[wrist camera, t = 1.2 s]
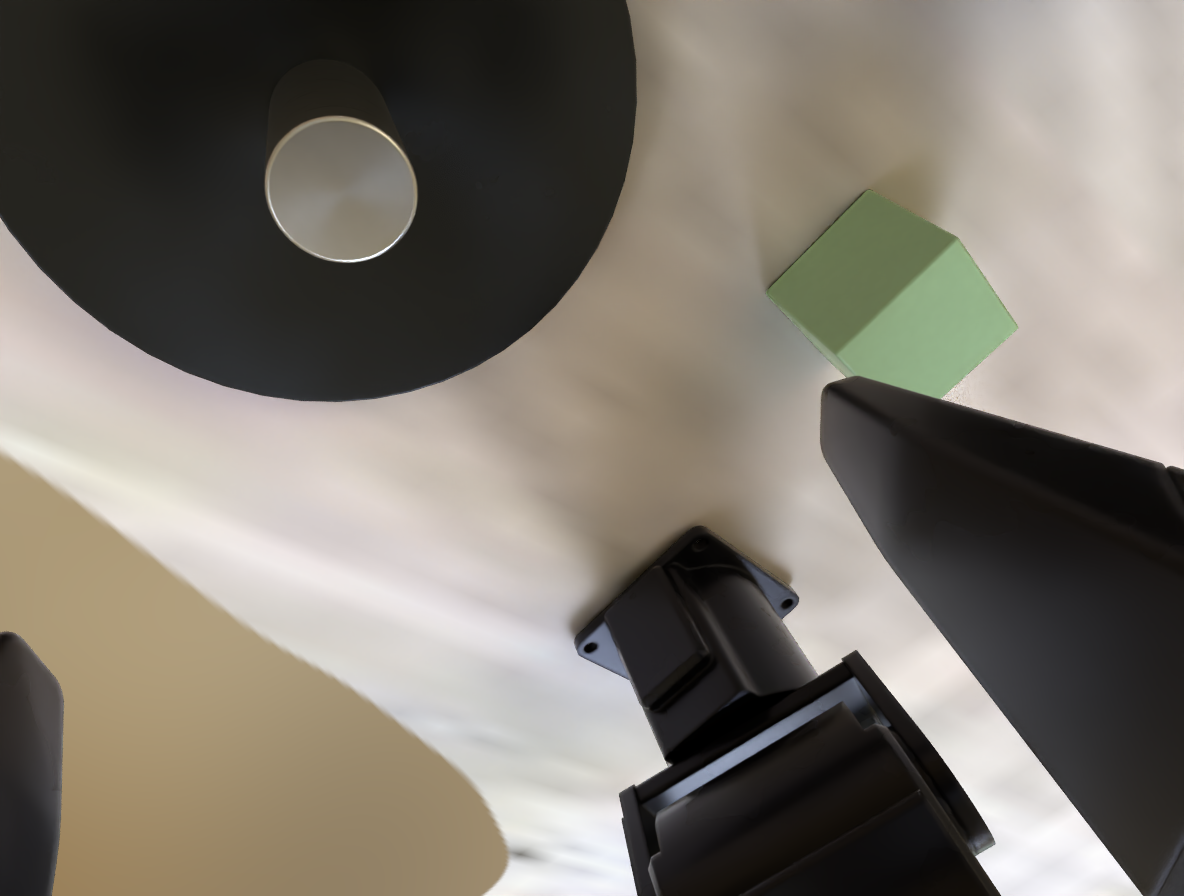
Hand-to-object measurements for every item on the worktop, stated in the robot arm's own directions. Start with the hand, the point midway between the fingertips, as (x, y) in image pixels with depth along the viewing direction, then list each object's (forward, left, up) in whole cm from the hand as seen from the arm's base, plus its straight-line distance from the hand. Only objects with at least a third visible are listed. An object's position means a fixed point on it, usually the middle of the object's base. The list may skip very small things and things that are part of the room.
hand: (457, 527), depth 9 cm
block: (-12, -7, -13) cm, 19 cm away
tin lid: (+2, -1, -12) cm, 12 cm away
